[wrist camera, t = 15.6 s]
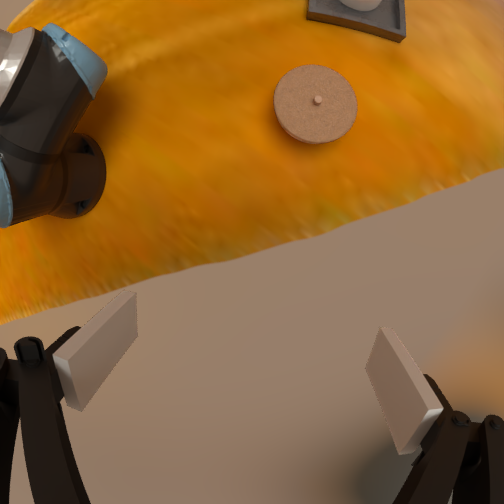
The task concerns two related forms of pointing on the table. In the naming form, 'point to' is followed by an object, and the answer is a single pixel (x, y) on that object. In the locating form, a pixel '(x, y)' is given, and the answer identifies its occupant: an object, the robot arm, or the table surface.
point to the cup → (361, 4)
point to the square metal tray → (362, 17)
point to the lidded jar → (315, 104)
